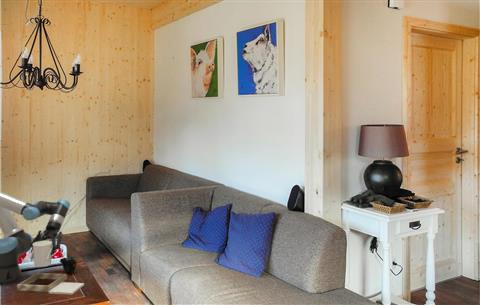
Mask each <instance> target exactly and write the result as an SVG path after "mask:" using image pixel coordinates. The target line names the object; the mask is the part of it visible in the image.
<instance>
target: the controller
mask: <svg viewBox="0 0 480 305" xmlns="http://www.w3.org/2000/svg"><path fill="white" fill-rule="evenodd" d="M59 263H61V265H62V269H63V270H64V273H65V274H72V273H74V272H75V270H76V268H77V267H76V266H77V260H75V259H74V256H70V257H69V258H68V257H62V258H60V259H59Z"/></svg>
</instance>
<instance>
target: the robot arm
mask: <svg viewBox="0 0 480 305" xmlns="http://www.w3.org/2000/svg"><path fill="white" fill-rule="evenodd" d="M70 206H71V202H70V201H69V200H67V199H64V198H61V199H58V200H57V202H53V201H44V200H36V201H35V202H33V204H32V203H29V202H28V201H25V200H23V199H20V198H18V197H15V196H13V195H10V194H8V193H5V192H3V191H0V230H1V232H2V233H3V235H4V236H3V238H0V286H4V285H5V284H6V285H11V284H15V283H17V282H19V281H21V280H23V272H22V270H21V268H20V266H19V257H21V256H23V255H24V254H26V253H28V252H29V251H30V255H29V257H28V258H29V259H30V260H31V261H34V255H33V243H35V242H38V241H47V239H48V240H49V239H50V240H51V242H52V248H51V249H50V251H49V253H48V256H47V258H46V259H47V260H48V261H50V259H51V260H52V256H54V255H55V253H56V251H57V250H60V248H61V243H62V239H63V238H62V237H63V235H64V233H63V232H62V231H60V230H61V228H62V226H63V224H64V221H65V218H66V216H67V213H68V211H69V210H70ZM11 212H13V213H16V214H18V215H21V216H22V217H23V219H24V220H26V221H34V220H37V219H38V218H41V217H42V216H44V215H46V216H47V215H50V216H49V219H48V222H47V224H46V227H45V230H38V232H37V234H36V235H35V237H34V238H33V236H32V235H31V233H28V232H25V230H24V228H23V227H19V225H18V223H17V221H16V220H15V218H14V216H13V214H12V213H11ZM56 236H57V240H56Z"/></svg>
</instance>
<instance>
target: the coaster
mask: <svg viewBox="0 0 480 305" xmlns="http://www.w3.org/2000/svg"><path fill="white" fill-rule="evenodd" d="M83 286H85V283H84V282H66V281H64V282H61V283H60V284H59V285H57V286H56V287H54V288H53V289H52V290H50V291H49V292H48V294H51V295H53V294H54V295H71V296H72V295H73V294H75V293H76V292H77V291H79V290H80V289H81V288H82V287H83Z"/></svg>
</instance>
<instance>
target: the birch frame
mask: <svg viewBox="0 0 480 305" xmlns="http://www.w3.org/2000/svg"><path fill="white" fill-rule="evenodd" d="M67 274H68V273H53V272H52V273H51V272H48V273H47V272H46V273H45V272H36V273H34V274H33V275H32V276H29V277H27V278H26V279H25V280H23V281H21V282H20V283H18V284H17V286H16V287H17V288H16V289H17V291H21V292H23V291H25V292H44V293H46V292H47V293H49V291H50V290H52V289H53V288H54V287H56V286H57V285H59V284H60V283H61V282H66V280H68V275H67ZM40 279H41V280H54V281H53V282H51V283H49V284H48V285H44V284H41V285H40V284H31V283H34V282H35V281H36V280H40Z"/></svg>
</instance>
